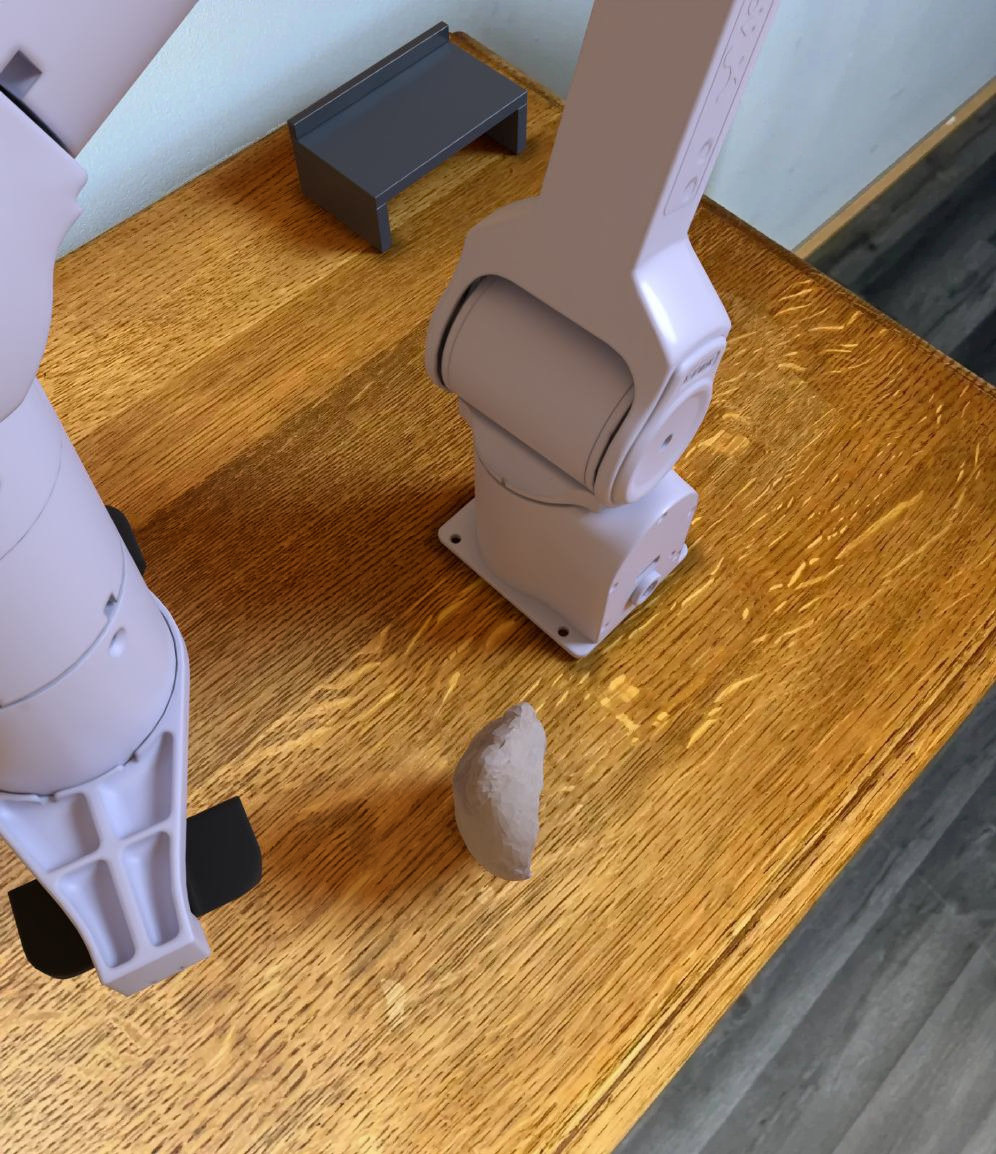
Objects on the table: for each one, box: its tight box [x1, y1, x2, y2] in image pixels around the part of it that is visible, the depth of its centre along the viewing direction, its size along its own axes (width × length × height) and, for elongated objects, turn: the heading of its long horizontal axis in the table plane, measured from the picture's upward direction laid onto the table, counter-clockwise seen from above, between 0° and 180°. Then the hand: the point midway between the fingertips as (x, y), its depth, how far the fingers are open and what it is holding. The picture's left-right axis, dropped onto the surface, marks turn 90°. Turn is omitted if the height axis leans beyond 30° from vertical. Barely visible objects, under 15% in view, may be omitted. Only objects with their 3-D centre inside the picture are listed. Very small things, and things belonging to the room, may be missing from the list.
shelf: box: [286, 20, 528, 254], centre depth 58 cm, size 7×12×5 cm, turn 136°
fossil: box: [451, 701, 547, 882], centre depth 38 cm, size 6×4×10 cm, turn 179°
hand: (151, 796), depth 32 cm, fingers open, 7 cm apart
